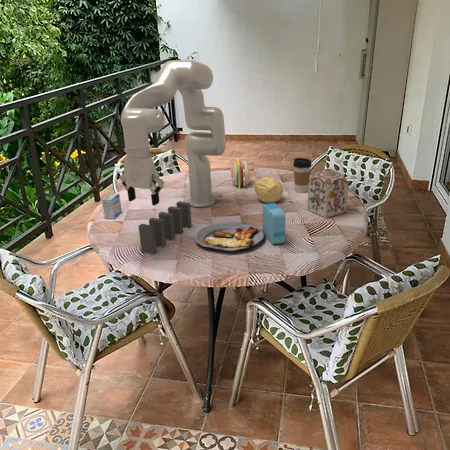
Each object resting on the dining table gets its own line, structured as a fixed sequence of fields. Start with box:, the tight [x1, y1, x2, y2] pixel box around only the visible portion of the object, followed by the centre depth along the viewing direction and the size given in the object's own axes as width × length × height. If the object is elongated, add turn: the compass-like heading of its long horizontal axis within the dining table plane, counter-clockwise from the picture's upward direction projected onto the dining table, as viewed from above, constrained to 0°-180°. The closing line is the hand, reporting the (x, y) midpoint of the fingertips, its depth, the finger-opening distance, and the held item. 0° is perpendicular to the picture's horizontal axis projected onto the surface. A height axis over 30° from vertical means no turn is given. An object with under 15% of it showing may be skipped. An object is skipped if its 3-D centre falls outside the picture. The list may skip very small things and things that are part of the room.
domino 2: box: [148, 217, 167, 248], centre depth 162 cm, size 2×5×10 cm, turn 63°
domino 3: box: [158, 211, 176, 241], centre depth 167 cm, size 2×5×10 cm, turn 63°
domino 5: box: [175, 200, 192, 229], centre depth 176 cm, size 2×5×10 cm, turn 63°
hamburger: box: [232, 158, 251, 190], centre depth 220 cm, size 12×8×12 cm
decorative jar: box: [307, 168, 349, 219], centre depth 185 cm, size 12×12×18 cm
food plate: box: [195, 221, 266, 252], centre depth 166 cm, size 25×23×4 cm
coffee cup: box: [292, 157, 312, 194], centre depth 209 cm, size 8×8×15 cm
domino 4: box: [167, 206, 184, 235], centre depth 172 cm, size 2×5×10 cm, turn 63°
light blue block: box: [262, 202, 286, 245], centre depth 163 cm, size 12×4×12 cm, turn 14°
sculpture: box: [253, 176, 284, 204], centre depth 200 cm, size 11×12×11 cm
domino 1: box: [138, 223, 157, 255], centre depth 157 cm, size 2×5×10 cm, turn 63°
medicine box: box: [101, 192, 123, 220], centre depth 190 cm, size 8×4×9 cm, turn 168°
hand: (143, 202), depth 152 cm, fingers open, 9 cm apart
